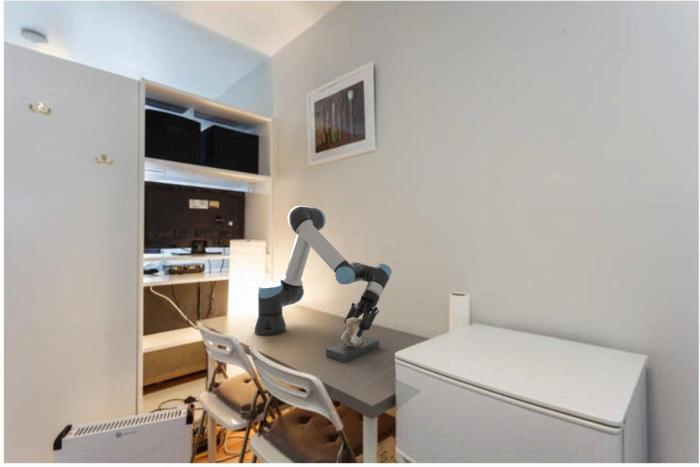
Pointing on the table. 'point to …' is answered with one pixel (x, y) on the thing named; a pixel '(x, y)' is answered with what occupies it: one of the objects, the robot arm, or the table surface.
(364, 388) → the table surface
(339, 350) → the grey block with hole
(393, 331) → the table surface
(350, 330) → the peg
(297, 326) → the table surface
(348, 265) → the robot arm
